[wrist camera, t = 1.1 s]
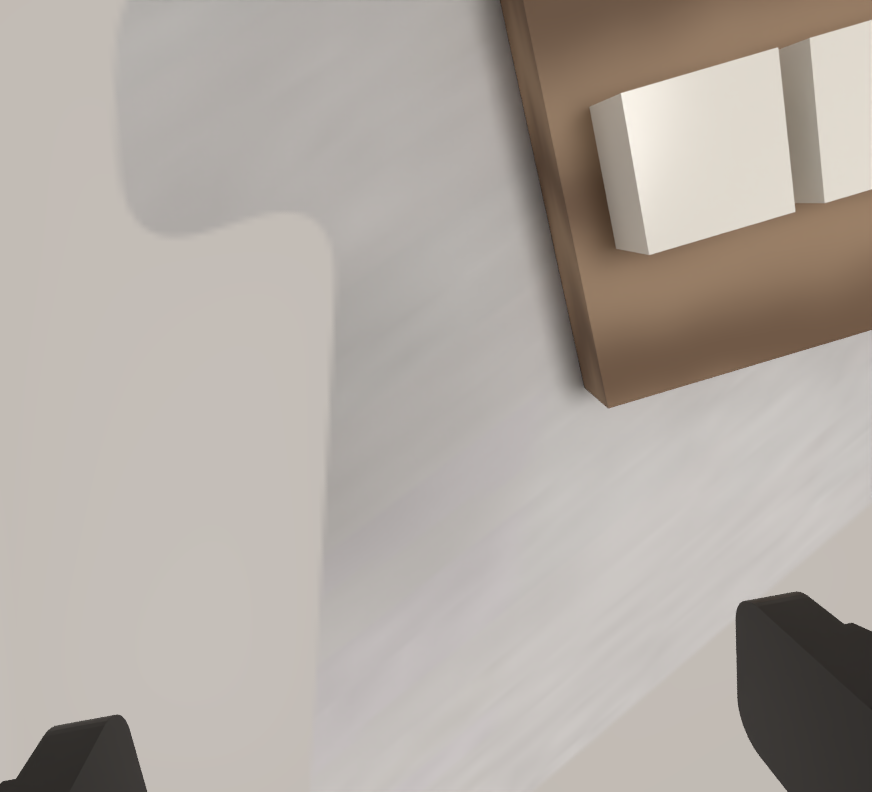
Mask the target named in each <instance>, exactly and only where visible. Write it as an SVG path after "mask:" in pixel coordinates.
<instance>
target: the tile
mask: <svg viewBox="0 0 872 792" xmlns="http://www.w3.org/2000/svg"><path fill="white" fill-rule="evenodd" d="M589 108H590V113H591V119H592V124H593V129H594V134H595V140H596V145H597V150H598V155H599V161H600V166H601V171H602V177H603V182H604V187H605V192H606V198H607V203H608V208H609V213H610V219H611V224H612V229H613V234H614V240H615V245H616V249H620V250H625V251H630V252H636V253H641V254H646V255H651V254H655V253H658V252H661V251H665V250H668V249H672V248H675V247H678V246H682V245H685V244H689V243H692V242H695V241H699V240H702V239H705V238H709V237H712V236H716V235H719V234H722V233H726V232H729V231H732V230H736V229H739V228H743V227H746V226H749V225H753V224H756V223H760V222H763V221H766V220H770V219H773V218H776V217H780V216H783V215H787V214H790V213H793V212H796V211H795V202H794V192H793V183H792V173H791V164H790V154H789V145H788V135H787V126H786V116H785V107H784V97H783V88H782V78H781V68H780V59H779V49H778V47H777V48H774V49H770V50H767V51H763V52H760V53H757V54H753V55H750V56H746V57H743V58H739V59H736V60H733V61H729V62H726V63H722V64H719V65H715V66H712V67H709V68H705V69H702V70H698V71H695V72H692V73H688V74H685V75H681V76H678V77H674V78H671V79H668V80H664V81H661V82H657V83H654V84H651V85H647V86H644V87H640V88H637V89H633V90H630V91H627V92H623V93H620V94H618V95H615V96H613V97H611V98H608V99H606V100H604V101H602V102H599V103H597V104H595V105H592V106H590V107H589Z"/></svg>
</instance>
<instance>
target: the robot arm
mask: <svg viewBox="0 0 872 792" xmlns="http://www.w3.org/2000/svg"><path fill="white" fill-rule="evenodd" d="M736 653H737V695H738V697H737V698H738V707H739V711H740V716H741V720H742V723H743V726H744V728H745V731H746V733H747V735H748V738H749V740H750V742H751V743H752V745H753V747H754V748H755V750H756V752H757V753H758V754H759V756H760V757H761V758H762V760H763V761H764V762H765V763H766V765H767V766H768V767H769V769H770V770H771V771H772V772H773V774H774V775H775V776H776V777H777V779H778V780H779V781H780V782H781V784H782V785H783V786H784V788H785V789H786V790H787V792H872V631H869V630H867V629H865V628H863V627H861V626H858V625H856V624H854V623H849V624H843V623H842V622H841V621H839V620H838V619H837V618H836V617H834V616H833V615H832V614H830V613H829V612H828V611H826V610H825V609H824V608H823V607H821V606H820V605H819V604H818V603H816V602H815V601H814V600H812V599H811V598H810V597H808V596H807V595H806V594H804V593H801V592H791V593H786V594H780V595H775V596H769V597H764V598H758V599H753V600H748V601H743V602H741V603H740V604H739V606H738V608H737V611H736ZM0 792H147V790H146V786H145V782H144V779H143V775H142V772H141V768H140V765H139V761H138V758H137V754H136V750H135V747H134V743H133V740H132V736H131V733H130V729H129V726H128V724H127V722H126V720H125V719H124V718H123V717H122V716H121V715H112V716H107V717H101V718H96V719H90V720H85V721H79V722H74V723H69V724H63V725H58V726H54V727H52V728H51V729H50V730H48V731H47V732H46V734H45V735H44V736H43V738H42V740H41V741H40V743H39V744H38V746H37V747H36V749H35V750H34V752H33V753H32V755H31V757H30V758H29V760H28V761H27V763H26V764H25V766H24V767H23V769H22V770H21V772H20V774H19V775H18V777H17V778H16V779H13V780H8V781H3V782H2V783H1V784H0Z"/></svg>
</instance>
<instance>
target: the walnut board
mask: <svg viewBox="0 0 872 792" xmlns="http://www.w3.org/2000/svg"><path fill="white" fill-rule="evenodd" d="M500 3H501V7H502V12H503V16H504V21H505V25H506V30H507V35H508V39H509V44H510V48H511V53H512V58H513V62H514V67H515V71H516V76H517V80H518V85H519V90H520V94H521V99H522V103H523V108H524V112H525V117H526V122H527V126H528V131H529V135H530V140H531V145H532V149H533V154H534V158H535V163H536V167H537V172H538V177H539V181H540V186H541V190H542V195H543V199H544V204H545V209H546V213H547V218H548V222H549V227H550V232H551V236H552V241H553V245H554V250H555V254H556V259H557V264H558V268H559V273H560V277H561V282H562V287H563V291H564V296H565V300H566V305H567V309H568V314H569V319H570V323H571V328H572V332H573V337H574V341H575V346H576V351H577V355H578V360H579V364H580V369H581V374H582V378H583V383H584V387H585V389H587V390H588V391H589V392H590V393H591V394H592V395H593V396H595V397H596V398H597V399H598V400H599V401H600V402H601V403H603V404H604V405H605V406H606V407H607V408H611V407H615V406H618V405H621V404H625V403H628V402H631V401H635V400H638V399H641V398H645V397H648V396H651V395H655V394H658V393H662V392H665V391H668V390H672V389H675V388H678V387H682V386H685V385H688V384H692V383H695V382H698V381H702V380H705V379H708V378H712V377H715V376H719V375H722V374H725V373H729V372H732V371H735V370H739V369H742V368H745V367H749V366H752V365H755V364H759V363H762V362H765V361H769V360H772V359H776V358H779V357H782V356H786V355H789V354H792V353H796V352H799V351H802V350H806V349H809V348H812V347H816V346H819V345H822V344H826V343H829V342H833V341H836V340H839V339H843V338H846V337H849V336H853V335H856V334H859V333H863V332H866V331H869V330H872V189H871V190H868V191H864V192H861V193H858V194H854V195H851V196H848V197H844V198H841V199H837V200H834V201H831V202H827V203H795V211H796V212H793V213H790V214H787V215H783V216H780V217H776V218H773V219H770V220H766V221H763V222H760V223H756V224H753V225H749V226H746V227H743V228H739V229H736V230H732V231H729V232H726V233H722V234H719V235H716V236H712V237H709V238H705V239H702V240H699V241H695V242H692V243H689V244H685V245H682V246H678V247H675V248H672V249H668V250H665V251H661V252H658V253H655V254H651V255H646V254H641V253H636V252H630V251H625V250H620V249H616V245H615V240H614V234H613V229H612V224H611V219H610V213H609V208H608V203H607V198H606V192H605V187H604V182H603V177H602V171H601V166H600V161H599V155H598V150H597V145H596V140H595V134H594V129H593V124H592V119H591V113H590V108H589V107H590V106H592V105H595V104H597V103H599V102H602V101H604V100H606V99H608V98H611V97H613V96H615V95H618V94H620V93H623V92H627V91H630V90H633V89H637V88H640V87H644V86H647V85H651V84H654V83H657V82H661V81H664V80H668V79H671V78H674V77H678V76H681V75H685V74H688V73H692V72H695V71H698V70H702V69H705V68H709V67H712V66H715V65H719V64H722V63H726V62H729V61H733V60H736V59H739V58H743V57H746V56H750V55H753V54H757V53H760V52H763V51H767V50H770V49H774V48H777V47H778V49H781V48H784V47H787V46H789V45H792V44H795V43H797V42H800V41H803V40H806V39H808V38H811V37H815V36H818V35H822V34H825V33H828V32H832V31H835V30H839V29H842V28H845V27H849V26H852V25H856V24H859V23H863V22H866V21H869V20H872V0H500Z"/></svg>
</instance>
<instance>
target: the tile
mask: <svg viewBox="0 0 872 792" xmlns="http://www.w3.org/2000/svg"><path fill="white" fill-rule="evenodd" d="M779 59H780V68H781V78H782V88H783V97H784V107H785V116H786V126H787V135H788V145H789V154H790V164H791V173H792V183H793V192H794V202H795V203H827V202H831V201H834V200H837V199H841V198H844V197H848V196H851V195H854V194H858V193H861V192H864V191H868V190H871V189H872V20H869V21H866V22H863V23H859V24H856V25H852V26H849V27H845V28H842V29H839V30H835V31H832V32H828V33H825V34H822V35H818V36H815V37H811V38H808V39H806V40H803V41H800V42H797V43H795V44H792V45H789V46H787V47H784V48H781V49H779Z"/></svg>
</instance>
